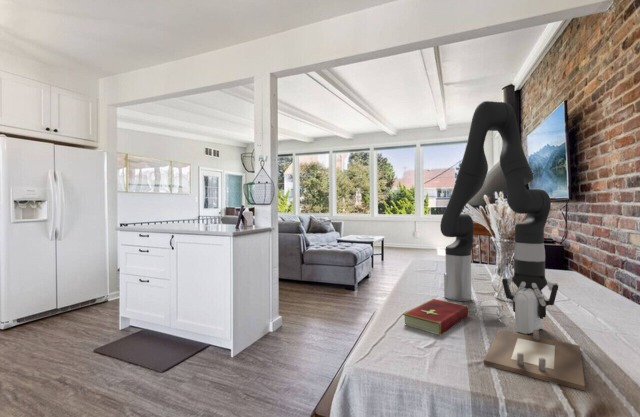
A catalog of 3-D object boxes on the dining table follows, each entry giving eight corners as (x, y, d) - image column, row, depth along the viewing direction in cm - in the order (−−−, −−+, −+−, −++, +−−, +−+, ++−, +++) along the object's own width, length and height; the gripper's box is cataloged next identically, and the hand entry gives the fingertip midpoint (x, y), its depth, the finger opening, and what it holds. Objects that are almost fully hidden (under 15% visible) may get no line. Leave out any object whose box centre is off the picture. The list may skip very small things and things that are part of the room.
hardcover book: (468, 317, 105) (468, 305, 105) (440, 337, 90) (440, 322, 90) (433, 309, 113) (433, 297, 113) (402, 326, 98) (402, 312, 98)
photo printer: (529, 323, 97) (529, 282, 97) (545, 327, 94) (545, 285, 93) (512, 331, 92) (512, 288, 91) (529, 336, 88) (528, 291, 88)
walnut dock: (483, 364, 74) (483, 349, 74) (498, 332, 91) (498, 320, 91) (584, 390, 63) (584, 373, 63) (579, 349, 80) (579, 335, 80)
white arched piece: (502, 326, 96) (502, 310, 96) (473, 320, 102) (473, 304, 102) (510, 315, 105) (510, 300, 105) (482, 310, 111) (482, 296, 111)
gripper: (499, 257, 94) (499, 314, 94) (560, 262, 85) (560, 325, 85) (502, 254, 100) (503, 307, 100) (560, 258, 91) (560, 317, 91)
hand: (529, 315), depth 93 cm, fingers closed on photo printer, 5 cm apart
